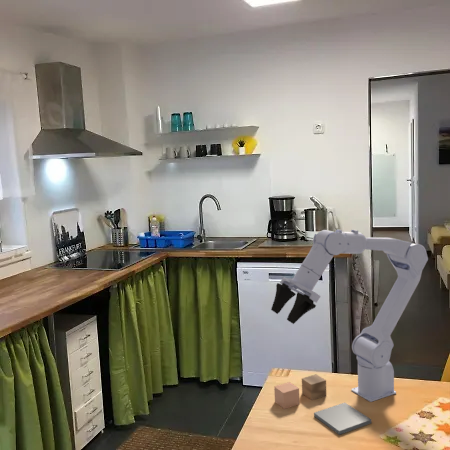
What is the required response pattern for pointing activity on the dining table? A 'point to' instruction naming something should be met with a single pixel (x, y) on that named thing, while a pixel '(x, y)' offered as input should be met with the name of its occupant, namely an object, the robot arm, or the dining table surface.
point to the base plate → (342, 418)
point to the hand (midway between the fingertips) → (281, 316)
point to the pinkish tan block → (286, 395)
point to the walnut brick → (313, 387)
